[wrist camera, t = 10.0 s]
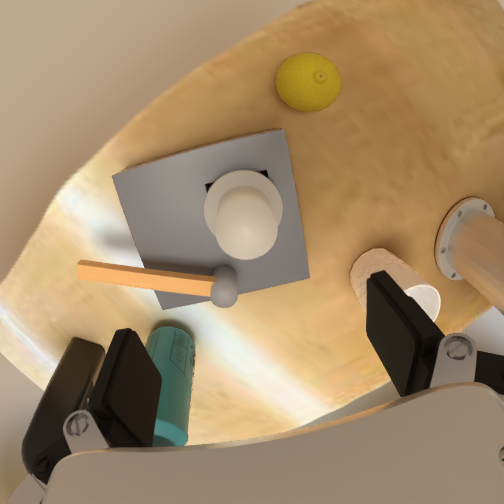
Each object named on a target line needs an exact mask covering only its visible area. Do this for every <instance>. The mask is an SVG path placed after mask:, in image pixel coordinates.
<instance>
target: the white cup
mask: <svg viewBox="0 0 504 504" xmlns="http://www.w3.org/2000/svg"><path fill="white" fill-rule="evenodd" d="M382 270H385V271H386V272H387V273H388V274H389V275H390V276H391V277H392V278H393V280H394V281H395V282H396V283H397V284H398V285H399V286H400V287H401V289H402V290H403V291H404V292H405V293H406V294H407V295H408V296H411V297H412V298H413V299H414V300H415V301H416V302H417V303H418V304H419V305H420V306H421V308H422V309H423V310H424V311H425V312H426V314H427V315H428V316H429V317H430V318H431V319H432V321H433V322H434V321H435V320H436V318H437V316H438V313H439V310H440V304H441V300H440V295H439V293H438V291H437V290H436V289H435V288H434V287H433V286H432V285H431V284H430V283H429V282H427V281H426V280H425V279H424V278H423V277H422V276H421V275H419V274H418V273H417V272H416V271H415V270H414V269H412V268H411V267H410V266H409V265H407V264H406V263H405V262H404V261H402V260H401V259H399V258H398V257H396V256H395V255H394V254H393V253H391V252H390V251H388V250H386V249H384V248H377V249H371V250H369V251H367V252H365V253H363V254H362V255H361V256H360V257H359V258H358V259H357V260H356V261H355V263H354V264H353V267H352V270H351V272H350V282H351V286H352V288H353V289H354V291H355V293H356V295H357V297H358V300H359V302H360V304H361V306H362V308H363V310H364V312H365V314H366V312H367V287H366V281H367V279H368V278H370V275H371V274H372V273H375V272H379V271H382Z"/></svg>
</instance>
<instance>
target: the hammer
mask: <svg viewBox="0 0 504 504" xmlns="http://www.w3.org/2000/svg"><path fill="white" fill-rule="evenodd" d="M77 270H78V277H79V279H84V280H90V281H97V282H103V283H109V284H116V285H123V286H130V287H137V288H144V289H151V290H159V291H167V292H175V293H183V294H191V295H200V296H209V297H210V298H211V301H212V303H213V304H214V305H216V306H218V307H221V308H227V307H230V306H232V305H234V304H235V302H236V301H237V278H236V272H235V270H234V269H233V268H232V267H230V266H227V265H221V266H218V267H217V268H215V269H214V271H213V273H212V276H204V275H196V274H187V273H179V272H170V271H162V270H154V269H146V268H139V267H131V266H124V265H116V264H109V263H102V262H95V261H88V260H80V261H79V262H78V263H77Z"/></svg>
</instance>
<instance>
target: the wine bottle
mask: <svg viewBox="0 0 504 504" xmlns="http://www.w3.org/2000/svg"><path fill="white" fill-rule="evenodd" d="M104 359H105V353H104V350H103V348H102V347H100V346H98V345H95V344H92V343H89V342H86V341H83V340H80V339H76V338H74V339H72V340H71V342H70V343H69V345H68V347H67V349H66V351H65V352H64V354H63V356H62V358H61V360H60V362H59V364H58V366H57V368H56V370H55V372H54V373H53V375H52V377H51V379H50V381H49V383H48V385H47V388H46V390H45V392H44V394H43V396H42V398H41V400H40V403H39V405H38V407H37V409H36V411H35V413H34V416H33V418H32V420H31V423H30V425H29V427H28V430H27V432H26V434H25V437H24V440H23V443H22V460H23V463H24V466H25V468H26V470H27V472H28V474H29V473H30V474H31V475H32V474H33V471H32V464H33V461H34V459H35V458H36V456H37V455H38V454H40V453H41V452H42V451H44V450H45V449H47V448H48V447H49V446H51V445H52V444H54V443H55V442H56V441H58V440H59V439H60V438H62V437H63V436H65V435H64V432H63V425H64V423H65V420H66V419H67V418H68V416H69V415H71V414H72V413H73V412H76V411H79V410H86V411H88V409H89V406H88V402H89V399H90V397H91V394H92V391H93V388H94V385H95V383H96V380H97V377H98V375H99V372H100V369H101V367H102V364H103V362H104Z"/></svg>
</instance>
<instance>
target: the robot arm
mask: <svg viewBox="0 0 504 504" xmlns="http://www.w3.org/2000/svg"><path fill="white" fill-rule="evenodd" d="M435 259H436V263H437V266H438V268H439V270H440V271H441V272H442V274H443V275H445V276H446V277H447V278H448V279H451V280H463V279H465V280H466V281H467V282H469V283H470V284H471V285H472V286H473V287H474V288H475V289H476V290H478V291H479V292H480V293H481V294H482V295H483V296H484V297H485V298H486V299H487V300H488V301H489V302H490V303H491V304H493V305H494V306H495V307H496V308H497V309H498V310H499V311H500V312H501V313H502V314H503V315H504V223H503V222H501V221H499V220H497V219H495V215H494V211H493V210H492V208H491V206H490V205H489V204H488V203H487V202H486V201H484V200H482V199H480V198H477V197H470V198H466V199H464V200H462V201H460V202H459V203H458V204H457V205H455V206H454V207H453V208H452V210H451V211H450V212H449V213H448V215H447V216H446V218H445V219H444V221H443V223H442V225H441V228H440V230H439V233H438V236H437V240H436V247H435ZM366 287H367V312H366V332H367V336H368V338H369V340H370V342H371V344H372V345H373V347H374V349H375V351H376V352H377V354H378V356H379V358H380V360H381V361H382V363H383V365H384V367H385V369H386V371H387V372H388V374H389V376H390V378H391V380H392V382H393V384H394V385H395V387H396V389H397V391H398V393H399V395H400V396H401V397H403V398H400V399H398V400H395V401H392V402H389V403H387V404H384V405H381V406H378V407H375V408H372V409H369V410H366V411H363V412H360V413H356V414H353V415H350V416H347V417H343V418H340V419H337V420H334V421H329V422H326V423H322V424H318V425H314V426H310V427H306V428H302V429H298V430H293V431H288V432H283V433H278V434H273V435H268V436H262V437H257V438H250V439H244V440H237V441H230V442H221V443H212V444H202V445H190V446H174V447H152V444H153V437H154V430H155V423H156V417H157V410H158V404H159V398H160V392H161V386H162V376H161V374H160V372H159V371H158V369H157V367H156V366H155V364H154V362H153V361H152V359H151V357H150V356H149V354H148V352H147V350H146V349H145V347H144V345H143V343H142V342H141V340H140V338H139V336H138V334H137V333H136V332H135V331H132V329H130V328H126V329H120V330H117V331H116V332H115V334H114V337H113V339H112V342H111V344H110V347H109V349H108V351H107V354H106V357H105V359H104V362H103V364H102V367H101V369H100V372H99V375H98V377H97V380H96V383H95V385H94V388H93V391H92V394H91V397H90V399H89V402H88V406H89V409H88V411H86V410H79V411H76V412H73V413H72V414H71V415H69V416H68V418H67V419H66V420H65V423H64V425H63V432H64V435H65V436H63V437H62V438H60V439H59V440H58V441H56V442H55V443H54V444H52V445H51V446H49V447H48V448H47V449H45V450H44V451H42V452H41V453H40V454H38V455H37V456H36V458H35V459H34V461H33V464H32V471H33V474H32V475H31V474H30V473H29V474H28V475H27V477H26V478H25V479H24V480H23V481H22V483H21V484H20V485H19V486H18V488H17V489H16V490H15V491H14V493H13V494H12V495H11V496H10V498H9V500H8V503H7V504H504V356H502V355H497V354H492V353H487V352H482V351H477V346H476V344H475V342H474V340H473V339H472V338H471V337H469V336H467V335H466V334H462V333H452V334H448V335H447V336H445V335H444V334H443V333H442V331H441V330H440V329H439V328H438V327H437V325H436V324H435V323H434V322H433V321H432V319H431V318H430V317H429V316H428V315H427V314H426V312H425V311H424V310H423V309H422V308H421V306H420V305H419V304H418V303H417V302H416V301H415V300H414V299H413V298H412V297H411V296H408V295H407V294H406V293H405V292H404V291H403V290H402V289H401V287H400V286H399V285H398V284H397V283H396V282H395V281H394V280H393V278H392V277H391V276H390V275H389V274H388V273H387V272H386V271H385V270H382V271H379V272H375V273H372V274H371V275H370V278H368V279H367V281H366ZM404 396H405V397H404Z"/></svg>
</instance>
